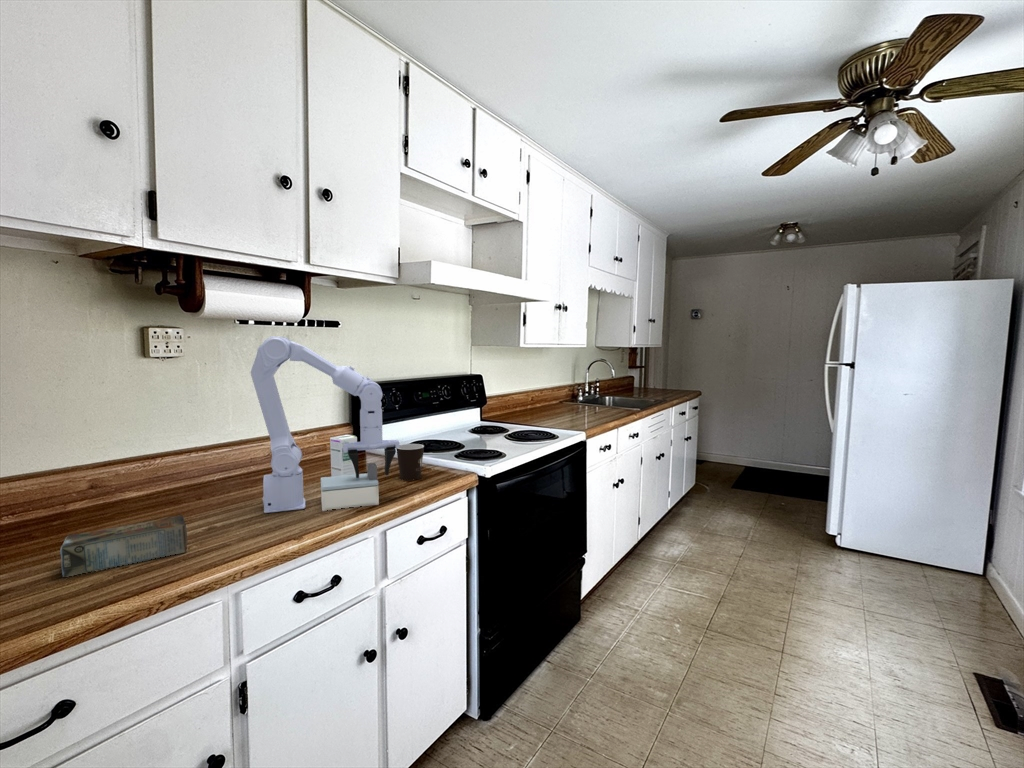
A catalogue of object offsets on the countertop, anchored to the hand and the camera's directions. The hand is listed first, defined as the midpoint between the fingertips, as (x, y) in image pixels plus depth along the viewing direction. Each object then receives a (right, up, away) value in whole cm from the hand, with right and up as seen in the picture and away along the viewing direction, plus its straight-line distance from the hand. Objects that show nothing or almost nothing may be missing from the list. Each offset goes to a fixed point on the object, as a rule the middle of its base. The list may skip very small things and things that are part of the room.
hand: (372, 475), depth 133 cm
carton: (-6, -7, -2) cm, 9 cm away
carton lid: (-6, -1, -2) cm, 6 cm away
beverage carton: (-38, -10, -36) cm, 53 cm away
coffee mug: (+7, -5, +24) cm, 25 cm away
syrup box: (-13, -5, +16) cm, 21 cm away
